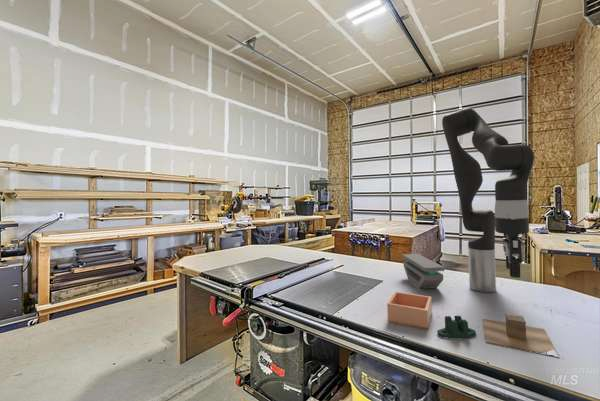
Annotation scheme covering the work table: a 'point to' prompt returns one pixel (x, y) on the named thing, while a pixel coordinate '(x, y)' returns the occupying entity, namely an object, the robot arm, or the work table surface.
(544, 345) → the lid
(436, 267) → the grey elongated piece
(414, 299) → the open storage bin
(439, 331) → the mount
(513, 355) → the work table surface
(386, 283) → the work table surface
